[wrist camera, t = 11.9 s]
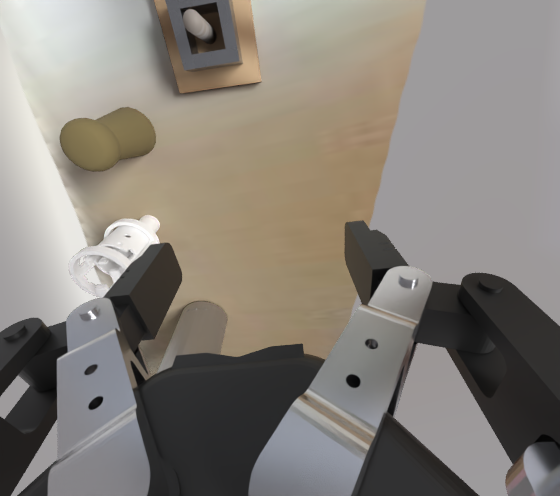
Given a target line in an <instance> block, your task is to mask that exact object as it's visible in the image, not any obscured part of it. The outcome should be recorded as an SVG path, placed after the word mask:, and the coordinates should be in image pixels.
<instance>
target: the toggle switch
mask: <svg viewBox="0 0 560 496" xmlns="http://www.w3.org/2000/svg"><path fill="white" fill-rule="evenodd" d="M154 2H155V6H156V9H157V13H158V17H159V20H160V24H161V27H162V31H163V34H164V38H165V42H166V45H167V49H168V52H169V56H170V60H171V63H172V67H173V70H174V74H175V78H176V81H177V85H178V88H179V92H180V93H187V92H194V91H201V90H208V89H215V88H222V87H229V86H236V85H243V84H250V83H257V82H261V75H260V67H259V60H258V53H257V45H256V38H255V30H254V23H253V15H252V8H251V0H232V2H233V8H234V14H235V19H236V25H237V31H238V37H239V43H240V48H241V54H242V60H243V64H239V65H233V66H227V67H221V68H215V69H209V70H203V71H197V72H190V71H185V70H184V68H183V64H182V60H181V57H180V53H179V49H178V46H177V42H176V38H175V35H174V31H173V27H172V24H171V20H170V16H169V13H168V9H167V5H166V2H165V0H154ZM183 23H184V26H185V28H186V29H187V30H188V31H189V32H191V33H192V34H194V35H195V39H196V44H197V48H198V52H199V53H204V52H210V51H216V50H222V49H226V48H225V43H224V38H223V33H222V27H221V22H220V17H219V12H215V13H210V14H204V15H199V14H198V13H197V12H196V11H195V10H193V9H189V10H187V11H185V13H184V15H183Z"/></svg>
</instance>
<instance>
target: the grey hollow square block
mask: <svg viewBox="0 0 560 496" xmlns="http://www.w3.org/2000/svg"><path fill="white" fill-rule="evenodd" d="M165 2H166V5H167V9H168V13H169V16H170V20H171V24H172V27H173V31H174V35H175V38H176V42H177V46H178V49H179V53H180V57H181V60H182V64H183V68H184V70H185V71H190V72H197V71H203V70H209V69H215V68H221V67H227V66H233V65H239V64H243V60H242V54H241V48H240V43H239V37H238V31H237V25H236V19H235V14H234V8H233V2H232V0H165ZM189 9H193V10H195V11H196V12H197V13H198V14H199V15H204V14H210V13H215V12H219V17H220V22H221V27H222V33H223V38H224V43H225V48H226V49H222V50H216V51H210V52H204V53H199V52H198V48H197V44H196V39H195V35H194V34H192V33H191V32H189V31H188V30H187V29H186V28H185V26H184V23H183V15H184V13H185V11H187V10H189Z"/></svg>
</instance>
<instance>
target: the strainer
mask: <svg viewBox="0 0 560 496" xmlns="http://www.w3.org/2000/svg"><path fill="white" fill-rule="evenodd" d="M117 226H119V227H117ZM115 227H117V228H116V229H115V230H114V231H113V229H114V228H115ZM159 227H160V224H159V221H158V220H157V219H156V218H155V217H153V216H151V215H145V216H143V217H141V218H140V220H139V221H138V220H135V219H120V220H117V221H115V222H114V223H113V224H111V225H110V226H109V227H108V228H107V229H106V231H105V233H104V240H103V241H102V242H100V243H99V244H98V245H97V246H90V247H86V248H84V249H82V250H80V251H79V252H78V253H77V254H76V255H75V256H73V257H72V259H71V260H70V262H69V272H70V275H71V277H72V279H73V280H74V282H75V283H76V284H77V285H78V286H79V287H80V288H82V289H83V290H85V291H86V292H88V293H90V294H92V295H94V296H97V297H100V298H103V297H104V296H105V294H106V293H107V292H108V291H109V289H110V288H111V287H112V286H113V285H114V283H115V282H116V281H117V280H118V279H120V276H121V275H122V274H123V272H125V270H126V269H127V267H128V266H129V265H130V264H131V263H132V262H133V261H135V260H136V259H138V258H139V257H140V256H142V254H143V253H144V252H145V251H146V249H147V248H148V247H149V246H150V245H151V244H160V243H159V239H158V237H157V235H156V232H157V231H158V229H159ZM112 231H113V232H112ZM85 255H87V256H85ZM82 256H85V257H84V262H83V263H82V264H81V265H79V261H80V258H81V257H82ZM95 265H96V266H97V267H98V268H99V269H100V270H101V271H103V272H104V273H106V274H107V275H110V276H111V278H112V280H113V282H114V283H113V285H112V286H111V287H110V288H108V286H107V284H98V285H95V284H93V283H88V281H87V278H86V277H85V276H84V275H85V274H86V273H87V272H88V271H89V270H90V269H91V268H93V267H94V266H95Z"/></svg>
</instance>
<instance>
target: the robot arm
mask: <svg viewBox="0 0 560 496" xmlns="http://www.w3.org/2000/svg"><path fill="white" fill-rule="evenodd" d="M345 261H346V265H347V268H348V270H349V273H350V275H351V278H352V280H353V282H354V285H355V287H356V290H357V292H358V295H359V297H360V299H361V302H362V304H361V305H360V306H359V307H358V309H357V310H356V312H355V313H354V315H353V317H352V318H351V320H350V322H349V323H348V325H347V326H346V328H345V330H344V331H343V333H342V334H341V336H340V338H339V339H338V341H337V343H336V344H335V346H334V347H333V349H332V351H331V352H330V354H329V355H328V357H327V359H326V360H324V359H322V358H319V357H317V356H313V355H309V354H304V351H303V344H294V345H283V346H272V347H268V348H265V349H262V350H259V351H256V352H253V353H250V354H247V355H243V356H240V357H232V356H225V355H220V353H221V348H222V343H223V338H224V334H225V329H226V324H227V316H226V313H225V312H224V310H223V309H222V308H220V307H219V306H218V305H215V304H213V303H210V302H204V301H198V302H193V303H191V304H189V305H187V306H186V307H185V308H184V309H183V311H182V314H181V316H180V319H179V321H178V323H177V326H176V328H175V330H174V333H173V335H172V338H171V340H170V342H169V345H168V347H167V350H166V352H165V355H164V357H163V359H162V362H161V364H160V367H159V369H158V372H157V374H155V375H153V376H151V374H150V371H149V368H148V366H147V363H146V360H145V358H144V355H143V352H142V350H141V348H140V347H139V343H140V341H141V340H151V339H155V336H156V334H157V332H158V330H159V328H160V326H161V324H162V322H163V320H164V318H165V316H166V313H167V311H168V309H169V307H170V305H171V303H172V301H173V299H174V297H175V295H176V293H177V291H178V288H179V286H180V284H181V282H182V272H181V269H180V266H179V264H178V261H177V259H176V256H175V254H174V251H173V249H172V246H171V245H170V244H169V243H160V244H151V245H150V246H149V247H148V248H147V249H146V251H145V252H144V253H143V254H142V256H140V257H139V258H138V259H136V260H135V261H133V262H132V263H131V264H130V265H129V266H128V267H127V269H126V270H125V272H123V274H122V275H121V276H120V279H118V280H117V281H116V282H115V283H114V285H113V286H112V287H111V288H110V289H109V291H108V292H107V293H106V294H105V296H104V297H103V298H97V299H94V300H91V301H88V302H86V303H84V304H82V305H80V306H79V307H77V308H76V309H75V310H74V311H73V312H72V313H71V314H70V315H69V316H68V318H67V320H66V321H65V322H62V323H59V324H56V325H53V326H49V327H47V326H46V325H45V324H44V323H43V322H42V320H40V319H39V318H29V319H26V320H22V321H20V322H17V323H15V324H13V325H11V326H9V327H8V328H6V329H5V330H3V331H2V332H0V396H1V395H2V393H3V392H4V391H5V390H6V389H7V388H8V386H9V385H10V384H11V383H12V381H13V380H14V379H15V378H16V376H18V375H19V376H20V377H21V378H22V379H23V380H24V381H25V382H27V383H28V384H29V385H30V387H29V388H28V389H27V391H26V392H25V393H24V394H23V396H22V397H21V398H20V400H19V401H18V402H17V404H16V405H15V406H14V408H13V409H12V410H11V411H10V413H9V414H8V415H7V417H6V418H5V419H3V418H1V417H0V496H11V494H12V492H13V491H14V489H15V487H16V486H17V484H18V483H19V481H20V479H21V478H22V476H23V474H24V473H25V471H26V469H27V468H28V466H29V464H30V463H31V461H32V459H33V458H34V456H35V454H36V453H37V451H38V450H39V448H40V446H41V445H42V443H43V441H44V439H45V438H46V436H47V435H48V433H49V431H50V430H51V428H52V426H53V424H54V423H55V421H56V420H57V423H58V424H57V431H58V456H57V460H56V461H55V462H54V463H53V464H52V465H51V466H50V467H48V468H47V469H46V470H45V471H44V472H43V473H42V474H41V475H39V476H38V477H37V478H36V479H35V480H34V481H33V482H32V483H31V484H30V485H28V486H27V487H26V488H25V489H24V490H23V491H22V492H21V493H20V494H19V495H17V496H479V495H478V494H477V493H475V492H474V490H472V489H471V488H470V487H469V486H468V485H467V484H466V483H465V482H464V481H463V480H462V479H460V478H459V477H458V476H457V475H456V474H455V473H454V472H452V471H451V470H450V469H449V468H448V467H447V466H446V465H445V464H444V463H443V462H442V461H441V460H440V459H439V458H437V457H436V456H435V455H434V454H433V453H432V452H431V451H430V450H428V448H426V447H425V446H424V445H423V444H422V443H421V442H420V441H419V440H418V439H417V438H416V437H414V436H413V435H412V434H411V433H410V432H409V431H408V430H407V429H406V428H405V427H403V426H402V425H401V424H400V423H399V422H398V421H397V420H396V419H395V418H394V416H395V413H396V410H397V407H398V404H399V400H400V397H401V393H402V390H403V386H404V383H405V380H406V377H407V374H408V371H409V368H410V365H411V362H412V359H413V356H414V353H415V350H416V348H417V344H418V343H423V344H428V345H433V346H439V347H445V348H446V349H447V351H448V353H449V355H450V356H451V358H452V360H453V361H454V363H455V365H456V367H457V368H458V370H459V372H460V374H461V375H462V377H463V379H464V380H465V382H466V384H467V386H468V388H469V389H470V391H471V393H472V394H473V396H474V397H475V400H476V401H477V403H478V405H479V407H480V408H481V410H482V411H483V413H484V415H485V417H486V418H487V420H488V422H489V424H490V425H491V427H492V429H493V431H494V432H495V434H496V436H497V438H498V439H499V441H500V443H501V444H502V446H503V448H504V450H505V451H506V453H507V455H508V456H509V458H510V460H511V462H512V463H513V465H512V466H511V467H510V469H509V470H508V472H507V474H506V480H505V483H506V490H507V494H508V496H560V326H559V325H557V323H555V322H554V321H553V320H552V319H551V318H550V317H549V316H548V315H547V314H545V313H544V312H543V311H542V310H541V309H540V308H539V307H538V306H537V305H535V304H534V303H533V302H532V301H531V300H530V299H529V298H528V297H527V296H526V295H524V294H523V293H522V292H521V291H520V290H519V289H518V288H517V287H516V286H515V285H513V284H512V283H511V282H509V281H507V280H505V279H503V278H501V277H498V276H495V275H492V274H487V273H472V274H468V275H466V276H465V277H464V278H463V279H462V282H461V285H456V284H447V283H438V282H433V281H432V279H431V277H430V276H429V275H428V274H427V273H425V272H424V271H422V270H420V269H418V268H414V267H410V266H408V264H407V263H406V261H405V260H404V259H403V258H402V256H401V255H400V253H399V252H398V251H397V249H395V247H394V245H393V244H392V243H391V241H390V240H389V239H388V237H387V236H386V235H385V234H383V233H381V232H379V231H378V230H372V231H370V229H369V228H368V226H367V225H366V223H365V222H364V221H363V220H362V221H354V222H346V224H345Z"/></svg>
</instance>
